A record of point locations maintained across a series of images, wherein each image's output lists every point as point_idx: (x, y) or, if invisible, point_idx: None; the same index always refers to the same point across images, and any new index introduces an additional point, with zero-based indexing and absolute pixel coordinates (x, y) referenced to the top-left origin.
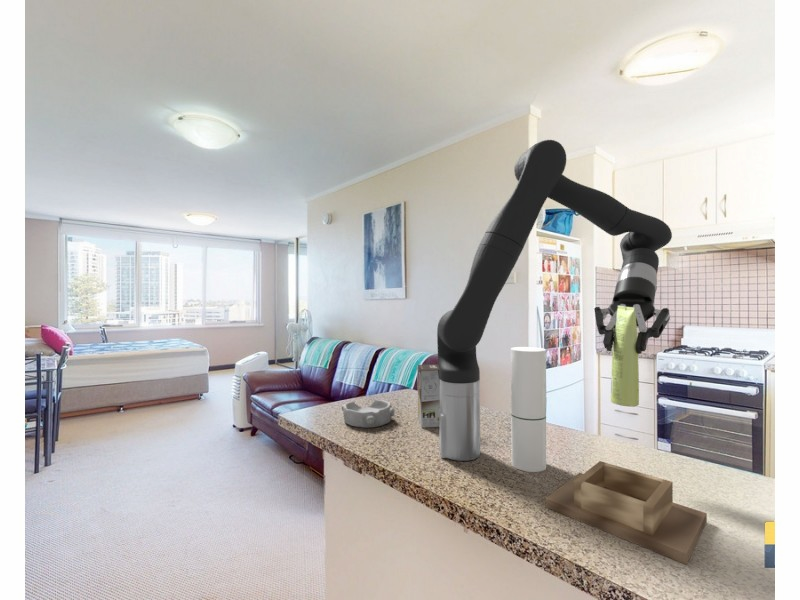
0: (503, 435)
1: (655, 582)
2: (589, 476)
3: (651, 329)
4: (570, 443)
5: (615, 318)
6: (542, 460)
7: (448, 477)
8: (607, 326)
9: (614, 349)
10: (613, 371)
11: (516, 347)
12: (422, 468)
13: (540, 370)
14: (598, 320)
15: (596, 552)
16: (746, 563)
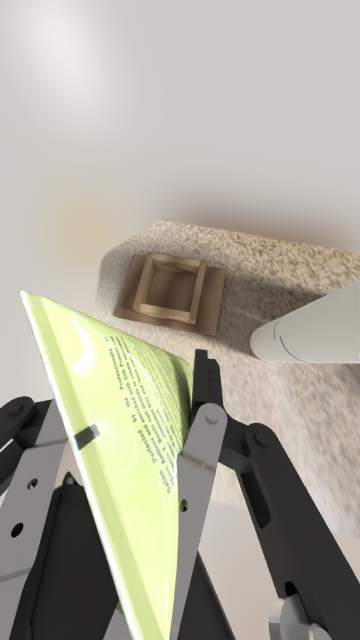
0: (337, 421)
1: (151, 232)
2: (197, 278)
3: (35, 411)
4: None
5: (184, 474)
6: (254, 335)
7: (317, 272)
8: (220, 428)
9: (184, 377)
10: (187, 367)
11: None
12: (350, 274)
13: (326, 303)
14: (287, 482)
15: (182, 240)
16: (104, 278)
